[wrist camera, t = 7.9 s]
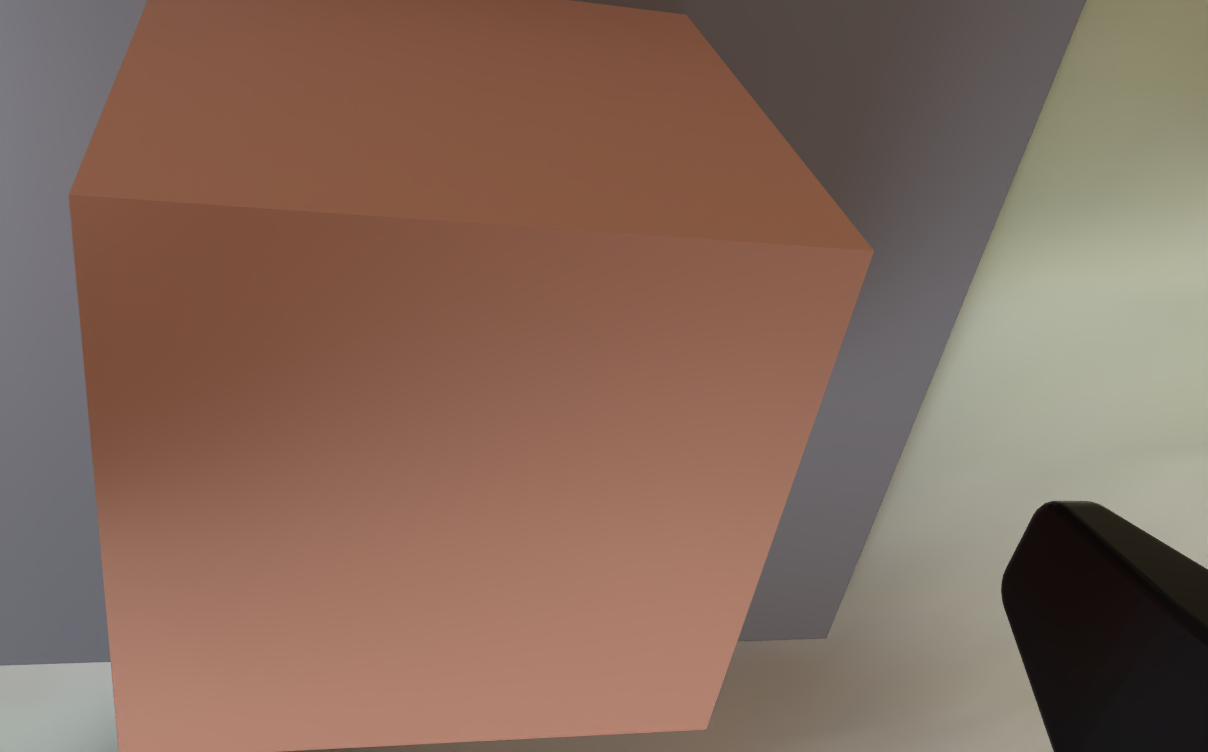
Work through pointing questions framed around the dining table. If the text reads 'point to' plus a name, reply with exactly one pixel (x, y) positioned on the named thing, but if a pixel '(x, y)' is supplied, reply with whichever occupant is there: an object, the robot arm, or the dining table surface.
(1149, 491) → the dining table surface
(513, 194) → the terracotta block
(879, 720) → the dining table surface
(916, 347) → the slate plate
